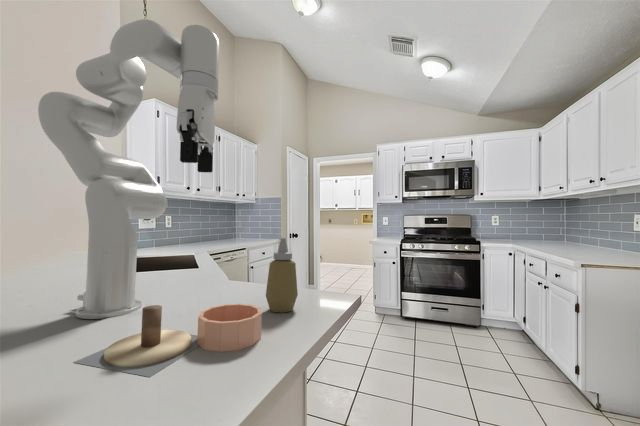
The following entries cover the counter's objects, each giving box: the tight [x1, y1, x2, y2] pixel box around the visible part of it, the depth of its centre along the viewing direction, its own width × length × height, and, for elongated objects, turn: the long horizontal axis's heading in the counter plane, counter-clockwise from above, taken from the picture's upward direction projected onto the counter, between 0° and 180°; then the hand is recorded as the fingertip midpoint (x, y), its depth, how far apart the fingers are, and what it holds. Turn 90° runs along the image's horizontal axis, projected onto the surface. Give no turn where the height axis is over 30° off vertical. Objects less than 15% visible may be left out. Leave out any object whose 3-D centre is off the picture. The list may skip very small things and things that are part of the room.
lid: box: [104, 304, 191, 367], centre depth 47 cm, size 12×12×7 cm
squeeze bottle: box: [265, 237, 299, 313], centre depth 71 cm, size 8×8×18 cm
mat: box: [73, 333, 201, 378], centre depth 47 cm, size 14×14×1 cm
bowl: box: [197, 303, 263, 353], centre depth 52 cm, size 11×11×5 cm
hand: (197, 167), depth 59 cm, fingers open, 9 cm apart
